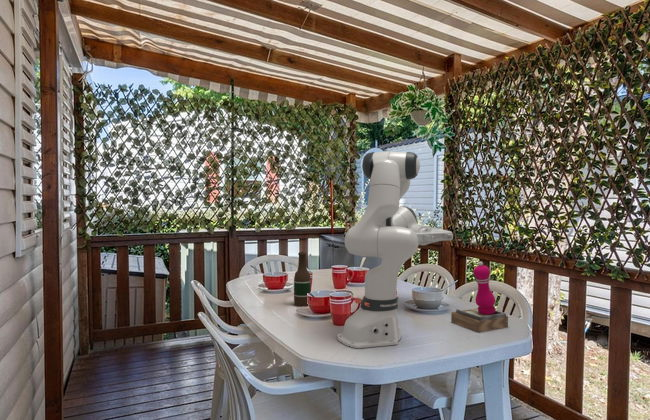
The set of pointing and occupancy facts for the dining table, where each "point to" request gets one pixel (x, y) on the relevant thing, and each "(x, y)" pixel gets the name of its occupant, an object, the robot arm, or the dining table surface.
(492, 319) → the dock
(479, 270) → the pepper mill
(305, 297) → the beer bottle
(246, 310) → the dining table surface
